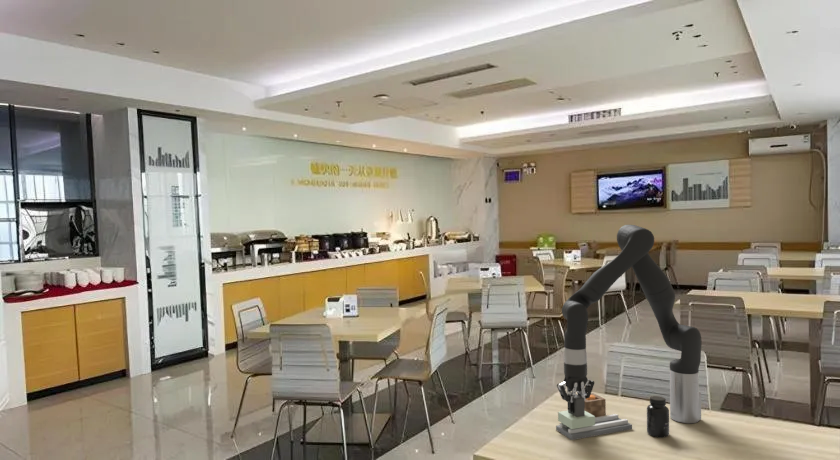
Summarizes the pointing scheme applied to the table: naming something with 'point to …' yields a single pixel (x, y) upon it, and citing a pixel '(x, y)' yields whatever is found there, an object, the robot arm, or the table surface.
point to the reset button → (591, 397)
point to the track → (596, 427)
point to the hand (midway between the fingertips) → (576, 411)
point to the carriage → (577, 415)
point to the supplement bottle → (657, 417)
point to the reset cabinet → (596, 406)
